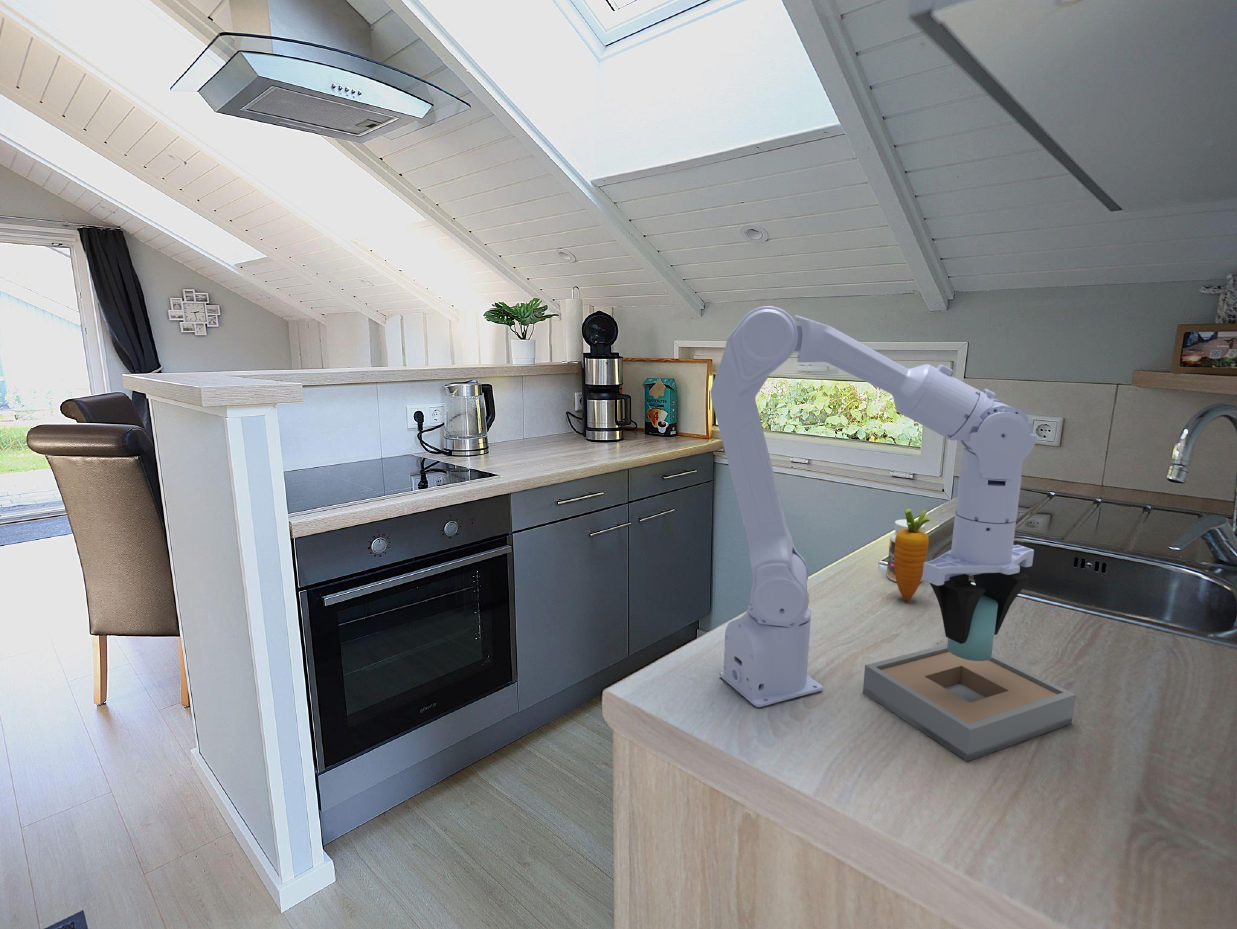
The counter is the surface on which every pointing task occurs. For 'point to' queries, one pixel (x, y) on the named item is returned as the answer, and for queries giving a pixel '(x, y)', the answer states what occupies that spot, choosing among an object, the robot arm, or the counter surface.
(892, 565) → the pill bottle
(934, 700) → the bore box
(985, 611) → the teal peg
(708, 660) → the counter surface
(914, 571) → the carrot
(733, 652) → the robot arm
